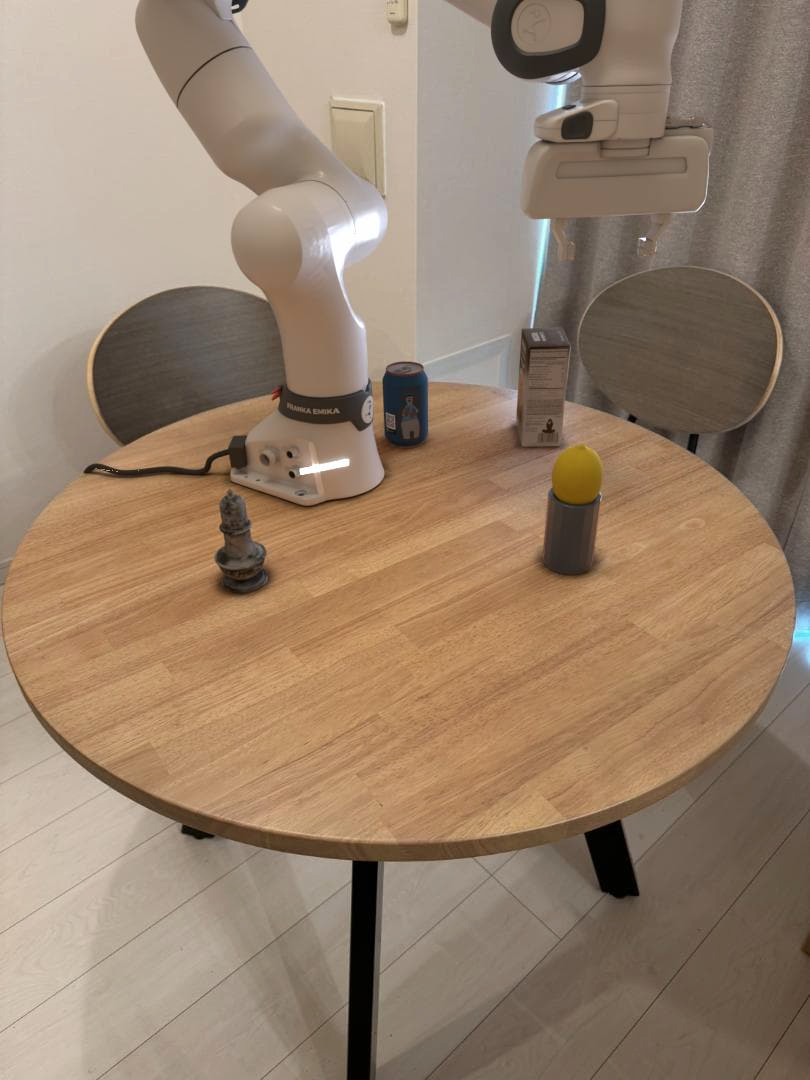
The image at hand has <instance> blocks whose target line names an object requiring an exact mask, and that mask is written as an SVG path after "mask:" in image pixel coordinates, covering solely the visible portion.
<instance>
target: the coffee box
mask: <svg viewBox="0 0 810 1080" xmlns="http://www.w3.org/2000/svg"><path fill="white" fill-rule="evenodd" d="M520 334H521V336H520V351H519V367H518V383H517V398H516V399H517V400H516V417H515V419H516V420H515V424H516V429H517V432H518V437H519V441H520V446H521V447H523V448H531V447H536V448H537V447H538V448H539V447H561V444H562V434H563V425H564V413H565V406H566V405H565V404H566V395H567V386H568V379H569V378H568V377H569V367H570V358H571V348H572V345H571V343H570V341H569V339H568V337H567V335H566V333H565V331H564V329H563V327H562V326H558V327H557V326H555V327H527V328H525V327H524V328H522V329H521V333H520Z"/></svg>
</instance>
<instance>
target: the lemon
mask: <svg viewBox="0 0 810 1080" xmlns="http://www.w3.org/2000/svg"><path fill="white" fill-rule="evenodd" d="M603 482H604V467H603V463H602V459H601V458H600V455H599V454H598V453H597V452H596V451H595V450H593V449H592V448H590V447H589V446H587V445H585V444H584V443H578V444H576V445H572V446H569V447H567V448H566V449H564V450H563V451H562V452H560V453H559V455H558V456H557V458H556V460H555V463H554V465H553V468H552V472H551V488H552V487H553V491H554V493H555V495H556V497H557V498H558V500H559V501H561V502H564V503H566V504H572V505H584V504H589V503H591V502H592V501H594V500H595V498H596V497H597V496H598V494H599V492H600V493H601V490H602V487H603Z"/></svg>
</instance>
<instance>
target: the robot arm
mask: <svg viewBox="0 0 810 1080" xmlns="http://www.w3.org/2000/svg"><path fill="white" fill-rule="evenodd" d="M249 1H250V0H139V1H138V2H137V5H136V8H135V9H136V10H135V15H134V24H135V30H136V31H135V32H136V34H137V37H138V39H139V41H140V44H141V46H142V48H143V51H144V53H145V55H146V57H147V59H148V61H149V63H150V66H151V67H152V68H153V69H152V70H153V71H154V72H155V74H156V76H157V78H158V80H159V82H160V84H161V85H162V87H163V88H164V90H165V92H166V94H167V95H168V97H169V98H170V100H171V102H172V103H173V105H174V106H175V108H176V109H177V111H178V112H179V114H180V115H181V117H182V118H183V119H184V121H185V122H186V124H187V125H188V127H189V129H190V130H191V131H192V133H193V134H194V136H195V137H196V138H197V140H198V141H199V143H200V144H201V146H202V147H203V148H204V150H205V151H206V153H207V155H208V156H209V157H210V159H211V160H212V163H214V165H215V166H216V168H217V169H218V170H219V171H221V173H223V174H224V175H225V176H227V177H228V178H230V179H231V180H233V181H236V182H238V183H240V184H241V185H243V186H244V187H246V188H248V189H249V190H250V191H252V192H253V193H254V194H255V195H256V197H255V198H253V199H252V200H250V201H249V202H248V203H246V204H245V205H244V206H242V208H241V209H240V210H238V212H237V214H236V215H235V217H234V219H233V221H232V225H231V228H230V229H231V230H230V246H231V251H232V254H233V259H234V260H235V262H236V265H237V266H238V268H239V269H240V271H241V273H242V274H243V275H244V277H245V278H246V279H248V281H250V283H252V284H253V285H255V286H256V287H258V288H259V289H260V290H261V292H262V293H263V295H264V296H265V298H266V300H267V302H268V304H269V305H270V308H271V311H272V314H273V315H274V318H275V322H276V324H277V328H278V332H279V336H280V341H281V342H280V343H281V351H282V358H283V364H284V371H285V372H284V373H285V381H283V382H281V383H280V384H278V385H277V388H276V389H274V390H273V391H271V392H270V395H272V397H271V398H270V400H271V401H275V400H276V399H278V398H279V403H278V405H277V407H276V408H275V409H274V410H273V411H272V412H270V413H269V414H268V415H267V416H265V417H264V418H263V419H261V420H260V421H259V422H258V423H257V424H256V425H255V426H254V427H253V428H252V429H251V430H249V432H248V434H247V435H233V436H232V437H231V441H230V442H229V444H228V446H227V448H226V449H223V450H219V451H215V452H214V453H213V454H211V455H209V456H208V457H207V459H206V460H205V463H204V467H201V468H198V469H190V468H185V467H179V466H173V465H171V466H170V465H167V466H166V465H165V466H154V467H153V466H152V467H145V468H136V469H119V468H115V467H112V466H110V465H106V464H103V463H97V462H96V463H92V464H89V465H88V466H86V467H85V468H84V470H83V474H90V473H92V472H93V471H95V470H98V471H99V470H100V471H104V472H106V473H109V474H111V475H116V476H121V477H133V476H144V475H151V474H160V473H174V474H180V475H187V476H202V475H205V474H207V473H208V472H210V470H211V469H212V465H213V462H214V461H215V460H217V459H221V458H223V457H226V456H228V457H229V464H230V468H231V469H230V481H231V482H233V483H235V484H238V485H241V486H244V487H247V488H250V489H253V490H256V491H259V492H262V493H265V494H268V495H271V496H272V497H273V496H274V497H277V498H280V499H283V500H286V501H288V502H291V503H295V504H297V505H301V506H303V507H309V506H314V505H319V504H320V503H323V502H326V501H331V500H339V499H347V498H350V497H354V496H359V495H361V494H364V493H367V492H369V491H370V490H372V489H374V488H376V487H377V486H378V485H380V484H381V482H382V481H383V480H384V478H385V473H386V471H385V469H384V467H383V464H382V461H381V458H380V454H379V451H378V447H377V443H376V442H377V441H376V437H375V433H374V426H373V421H374V410H375V409H374V407H375V406H374V397H373V396H374V395H373V384H372V380H371V378H370V377H369V369H368V368H369V367H368V366H369V364H368V347H367V346H368V345H367V342H368V341H367V328H366V324H365V322H364V320H363V318H362V317H361V316H360V315H359V314H358V313H356V312H355V311H354V310H353V308H352V305H351V303H350V300H349V296H348V293H347V290H346V286H345V281H344V272H345V270H347V269H349V268H352V267H354V266H357V265H358V264H360V263H362V262H364V261H365V260H366V259H368V257H369V256H370V255H371V254H372V253H373V252H374V251H375V250H376V249H377V247H378V246H379V245H380V244H381V242H382V241H383V239H384V237H385V236H386V232H387V229H388V224H389V223H388V222H389V219H388V218H389V217H388V215H389V214H388V209H387V205H386V202H385V199H384V198H383V196H382V194H381V193H380V191H379V190H378V188H377V187H375V185H373V183H371V182H370V181H368V180H366V179H365V178H363V177H361V176H359V175H357V174H356V173H354V172H353V171H352V170H351V169H349V167H348V166H347V165H346V164H345V163H344V162H342V161H341V160H340V158H338V157H337V156H336V154H335V153H334V152H332V151H331V149H329V148H328V146H326V144H325V143H324V142H323V141H321V139H320V138H319V137H318V136H317V135H316V134H315V133H314V132H313V131H312V129H310V128H309V127H308V126H307V124H305V122H304V121H303V120H302V119H301V117H300V116H299V115H298V114H297V113H296V112H295V110H294V109H293V108H292V106H291V105H290V103H289V102H288V100H287V99H286V97H285V96H284V95H283V93H282V91H281V90H280V88H279V87H278V85H277V84H276V82H275V81H274V79H273V78H272V76H271V74H270V73H269V72H268V70H267V68H266V67H265V66H264V64H263V62H262V61H261V60H260V58H259V56H258V55H257V53H256V52H255V50H254V48H253V47H252V46H251V44H250V42H249V41H248V40H247V38H246V37H245V35H244V34H243V32H242V31H241V29H240V27H239V25H238V23H237V22H236V20H235V18H234V14H238V13H241V12H242V11H243V10H244V9H245V8H246V6H247V5H248V3H249ZM443 1H444V2H446V3H448V4H450V5H452V6H453V7H454V8H455V9H458V10H459V11H461V12H463V13H464V14H466V15H468V16H469V17H471V18H473V19H475V20H476V21H478V22H479V23H481V24H483V25H484V26H486V27H487V28H489V29H490V39H491V46H492V48H493V52H494V54H495V57H496V58H497V61H498V62H499V64H501V66H502V67H503V69H505V71H507V72H508V73H509V74H511V75H512V76H514V77H515V78H517V79H519V80H521V81H524V82H527V83H533V84H534V83H535V84H537V83H539V84H542V83H543V84H547V85H551V86H563V85H568V84H571V83H573V82H576V81H577V80H579V79H581V92H580V98H579V99H578V100H575V101H573V102H570V103H568V104H565V105H562V106H561V107H558V108H555V109H552V110H550V111H547V112H545V113H542V114H540V115H538V116H537V117H536V118H535V119H534V122H533V134H534V137H535V138H537V139H539V140H538V141H535V142H534V143H533V144H532V145H531V147H530V148H529V150H528V151H527V154H526V157H525V161H524V165H523V169H522V175H521V183H520V192H519V208H520V210H521V212H522V213H523V214H524V216H526V217H527V218H529V219H531V220H549V221H550V222H549V227H550V230H551V232H552V234H553V236H554V239H555V240H556V243H557V256H556V257H557V260H558V261H560V262H568V261H569V262H571V261H574V260H575V257H576V254H575V252H576V249H577V248H576V247H577V244H576V243H573V242H572V241H568V239H567V236H566V234H565V231H564V230H567V229H568V228H569V219H571V218H572V219H574V218H577V219H578V218H594V217H596V218H597V217H617V216H619V217H621V216H638V215H650V219H649V220H650V222H652V223H653V224H652V225H651V227H650V228H649V230H648V232H647V234H646V236H645V237H639V238H638V240H637V246H638V247H637V248H636V254H637V256H639V257H641V258H646V257H649V258H650V257H655V255H656V251H657V243H658V241H659V240H660V239H661V237H662V236H663V234H664V233H665V231H666V230H667V229H668V227H669V225H670V223H671V217H672V214H682V213H683V214H684V213H696V212H698V211H699V210H700V209H701V207H702V206H703V205H704V204H705V201H706V200H707V194H708V185H709V183H708V182H709V170H710V169H709V168H710V167H709V166H710V159H709V158H710V155H711V153H712V149H713V144H714V139H715V138H714V137H715V129H714V128H713V125H712V123H710V122H709V121H708V120H706V119H705V118H704V116H702V115H691V116H677V115H676V116H668V110H669V103H670V98H671V97H670V96H671V89H672V87H671V86H672V82H673V75H672V65H671V63H672V53H673V50H674V46H675V43H676V41H677V39H678V35H679V33H680V27H681V19H682V12H683V5H684V0H443ZM237 5H238V7H236V8H232V7H235V6H237ZM703 126H705V127H703ZM95 468H97V469H95ZM101 469H105V470H101ZM106 470H110V471H106ZM112 470H113V471H112ZM138 470H139V471H138ZM116 471H118V472H116Z"/></svg>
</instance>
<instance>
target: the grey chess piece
mask: <svg viewBox="0 0 810 1080" xmlns="http://www.w3.org/2000/svg"><path fill="white" fill-rule="evenodd" d="M226 493H227V494H226V495H224V496H223V497H222V498H220V500H219V503H218V508H219V513H220V519H221V523H220V524H219V527H218V528H219V531H220V532H221V533H222V534H223V539H224V545H223V546H221V547H220V548H219V549H218V550H217V551H216V552H215V554H214V557H213V558H214V562H215V564H216V565H217V566H218V568H219V569H220V571H221V572H222V573H223V575H224V576H223V577H222V579H221V585H222V588H223V589H224V590H226V591H227V592H229V593H233V594H247V593H252V592H254V591H257V590H259V589H261V588H262V587H264V585H265V584H267V582H268V578H269V575H268V573H267V571H266V570H265V569H263V567H264V564H265V560H266V557H267V553H268V552H267V551H268V550H267V548H266V546H265V545H264V544H262V543H260V542H259V541H255V540H253V538H252V531H251V529H252V527H253V522H252V520H251V519H249V518H248V511H247V505H246V501H245V499H244V497H243V496H242V495H240V494H237V493H236V494H235V493H234V490H232V489H231V488H229V489H228V490H227V491H226Z"/></svg>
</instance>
